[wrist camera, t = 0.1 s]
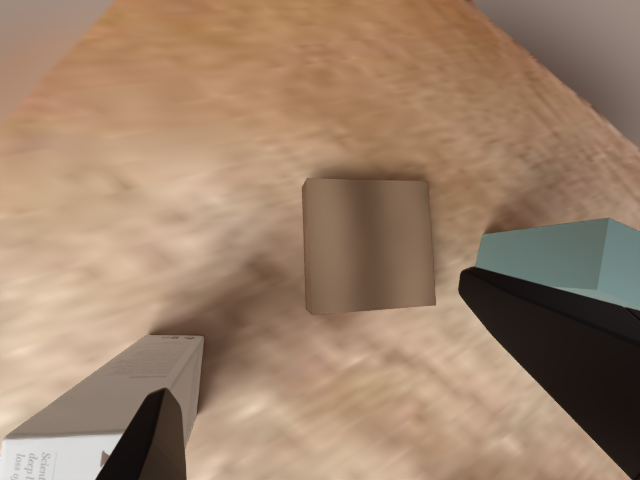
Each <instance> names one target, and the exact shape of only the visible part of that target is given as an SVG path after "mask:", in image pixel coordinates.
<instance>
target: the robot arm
mask: <svg viewBox="0 0 640 480" xmlns="http://www.w3.org/2000/svg"><path fill="white" fill-rule="evenodd" d="M458 291H459V294H460V296H461V298H462V299H463V300H464V301H465V303H466V304H467V305H468V306H469V308H470V309H471V310H472V311H473V313H474V314H475V315H476V316H477V317H478V319H479V320H480V321H481V322H482V324H483V325H484V326H485V327H486V329H487V330H488V331H489V332H490V333H491V335H492V336H493V337H494V338H495V339H496V340H497V341H498V342H499V343H500V344H501V345H502V346H503V347H504V348H505V349H506V350H507V351H508V352H509V353H510V355H511V356H512V357H513V358H514V359H515V360H516V361H517V362H518V363H519V364H520V365H521V366H522V367H523V368H524V369H525V370H526V371H527V372H528V373H529V374H530V375H531V376H532V377H533V378H534V379H535V380H536V381H537V382H538V383H539V384H540V385H541V386H542V388H543V389H544V390H545V391H546V392H547V393H548V394H549V395H550V396H551V397H552V398H553V399H554V400H555V401H556V402H557V403H558V404H559V405H560V406H561V407H562V408H563V409H564V410H565V411H566V412H567V413H568V414H569V415H570V416H571V417H572V418H573V419H574V421H575V422H576V423H577V424H578V425H579V426H580V427H581V428H582V429H583V430H584V431H585V432H586V433H587V434H588V435H589V436H590V437H591V438H592V439H593V440H594V441H595V442H596V443H597V444H598V445H599V446H600V447H601V448H602V449H603V450H604V451H605V452H606V453H607V455H608V456H609V457H610V458H611V459H612V460H613V461H614V462H615V463H616V464H617V465H618V466H619V467H620V468H621V469H622V470H623V471H624V472H625V473H626V474H627V475H628V476H629V477H630V478H631V479H632V480H640V310H636V309H632V308H628V307H623V306H621V305H617V304H613V303H609V302H606V301H602V300H598V299H594V298H591V297H587V296H583V295H580V294H576V293H572V292H568V291H565V290H561V289H557V288H553V287H550V286H546V285H542V284H538V283H535V282H531V281H527V280H523V279H520V278H516V277H512V276H508V275H505V274H501V273H497V272H493V271H490V270H486V269H482V268H478V267H470V268H467V269H465V270H463V271H462V272H461V274H460V280H459V287H458ZM95 480H186V461H185V447H184V433H183V419H182V410H181V406H180V404H179V403H178V401H177V400H176V398H175V397H174V396H173V394H172V393H171V392H170V390H169V389H168V388H166V387H164V388H161V389H158V390H155V391H153V392H151V393H149V394H148V395H147V396H146V397H145V399H144V400H143V402H142V404H141V405H140V407H139V409H138V410H137V412H136V413H135V415H134V417H133V418H132V420H131V422H130V423H129V425H128V427H127V428H126V430H125V431H124V433H123V435H122V436H121V438H120V440H119V441H118V443H117V444H116V446H115V448H114V449H113V451H112V453H111V454H110V456H109V457H108V459H107V461H106V462H105V464H104V466H103V467H102V469H101V470H100V472H99V474H98V475H97V477H96V479H95Z"/></svg>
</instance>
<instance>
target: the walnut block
mask: <svg viewBox="0 0 640 480" xmlns="http://www.w3.org/2000/svg"><path fill="white" fill-rule="evenodd" d="M302 203H303V233H304V263H305V292H306V310H307V311H308V312H309V313H310V314H311V315H318V314H330V313H343V312H356V311H369V310H382V309H395V308H408V307H420V306H433V305H436V297H435V281H434V266H433V251H432V235H431V220H430V205H429V189H428V181H400V180H359V179H319V178H307V179H306V181H305V183H304V185H303V186H302Z"/></svg>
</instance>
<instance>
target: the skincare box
mask: <svg viewBox="0 0 640 480" xmlns="http://www.w3.org/2000/svg"><path fill="white" fill-rule="evenodd" d="M203 346H204V337H203V336H188V335H146V336H144V337H142V338H141V339H140V340H138V341H137V342H136V343H134V344H133V345H131V346H130V347H128V348H127V349H126V350H124V351H123V352H122V353H120V354H119V355H117V356H116V357H115V358H113V359H112V360H110V361H109V362H108V363H106V364H105V365H104V366H102V367H101V368H99V369H98V370H97V371H95V372H94V373H92V374H91V375H90V376H88V377H87V378H85V379H84V380H83V381H81V382H80V383H79V384H77V385H76V386H74V387H73V388H72V389H70V390H69V391H68V392H66V393H65V394H63V395H62V396H60V397H59V398H58V399H56V400H55V401H54V402H52V403H51V404H50V405H48V406H47V407H46V408H44V409H43V410H41V411H40V412H38V413H37V414H36V415H34V416H33V417H31V418H30V419H29V420H27V421H26V422H24V423H23V424H22V425H20V426H19V427H17V428H16V429H15V430H13V431H12V432H10V433H9V434H8V435H7V436H5V437H4V438H3V440H2V446H1V453H0V480H95V479H96V477H97V475H98V474H99V472H100V470H101V469H102V467H103V466H104V464H105V462H106V461H107V459H108V457H109V456H110V454H111V453H112V451H113V449H114V448H115V446H116V444H117V443H118V441H119V440H120V438H121V436H122V435H123V433H124V431H125V430H126V428H127V427H128V425H129V423H130V422H131V420H132V418H133V417H134V415H135V413H136V412H137V410H138V409H139V407H140V405H141V404H142V402H143V400H144V399H145V397H146V396H147V395H148V394H149V393H151V392H153V391H155V390H158V389H161V388H164V387H166V388H168V389H169V390H170V392H171V393H172V394H173V396H174V397H175V398H176V400H177V401H178V403H179V404H180V406H181V410H182V419H183V433H184V447H185V448H186V445H187V442H188V439H189V436H190V433H191V431H192V428H193V425H194V422H195V419H196V416H197V405H198V396H199V386H200V376H201V365H202V355H203Z"/></svg>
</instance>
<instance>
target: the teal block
mask: <svg viewBox="0 0 640 480" xmlns="http://www.w3.org/2000/svg"><path fill="white" fill-rule="evenodd" d="M475 267H478V268H482V269H486V270H490V271H493V272H497V273H501V274H505V275H508V276H512V277H516V278H520V279H523V280H527V281H531V282H535V283H538V284H542V285H546V286H550V287H553V288H557V289H561V290H565V291H568V292H572V293H576V294H580V295H583V296H587V297H591V298H594V299H598V300H602V301H606V302H609V303H613V304H617V305H621V306H623V307H628V308H632V309H637V310H640V231H638V230H636V229H633V228H631V227H629V226H627V225H624V224H622V223H620V222H617V221H615V220H613V219H611V218H604V219H596V220H588V221H581V222H573V223H566V224H558V225H550V226H543V227H535V228H528V229H520V230H513V231H505V232H497V233H490V234H483V235H482V239H481V244H480V248H479V252H478V257H477V261H476V265H475Z"/></svg>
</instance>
